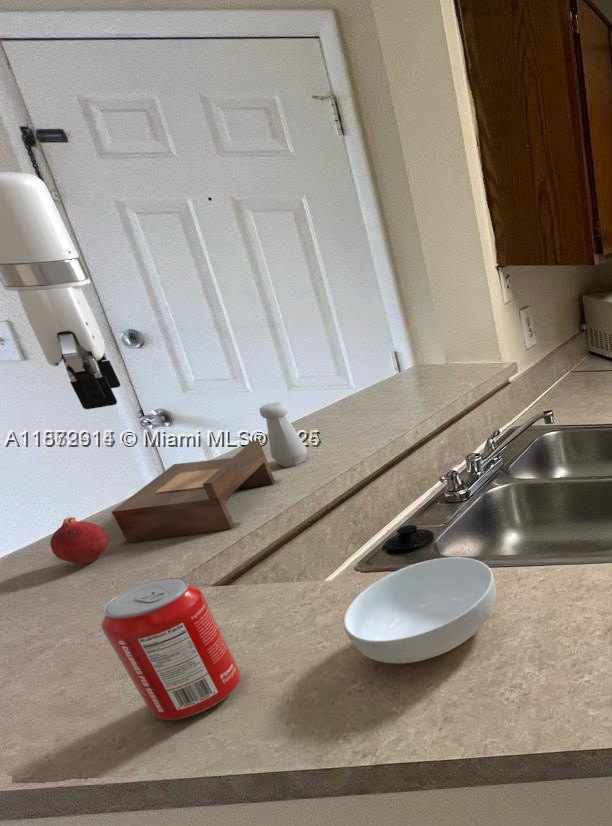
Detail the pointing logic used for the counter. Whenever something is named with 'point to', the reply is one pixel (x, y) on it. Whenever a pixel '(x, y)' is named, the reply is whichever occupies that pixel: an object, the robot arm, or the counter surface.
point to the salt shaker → (283, 436)
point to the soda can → (171, 647)
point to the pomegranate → (79, 541)
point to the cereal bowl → (421, 610)
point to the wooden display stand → (191, 496)
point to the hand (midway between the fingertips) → (103, 397)
